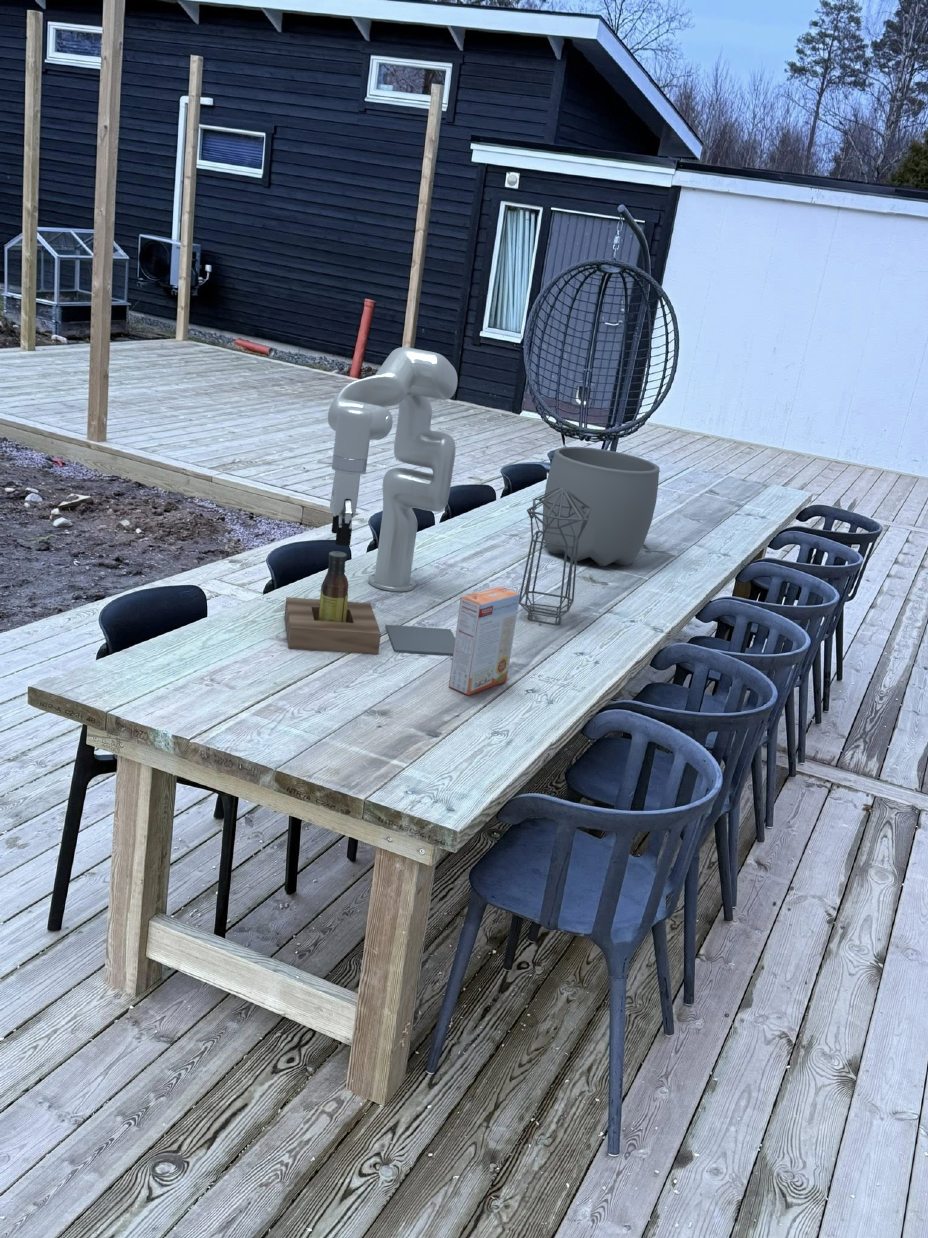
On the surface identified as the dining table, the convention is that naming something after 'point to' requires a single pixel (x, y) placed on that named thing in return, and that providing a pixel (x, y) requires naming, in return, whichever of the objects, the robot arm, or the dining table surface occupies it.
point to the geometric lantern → (577, 510)
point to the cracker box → (483, 640)
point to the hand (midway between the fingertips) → (340, 539)
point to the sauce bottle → (334, 590)
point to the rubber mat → (421, 640)
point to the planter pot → (602, 503)
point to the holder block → (331, 628)
